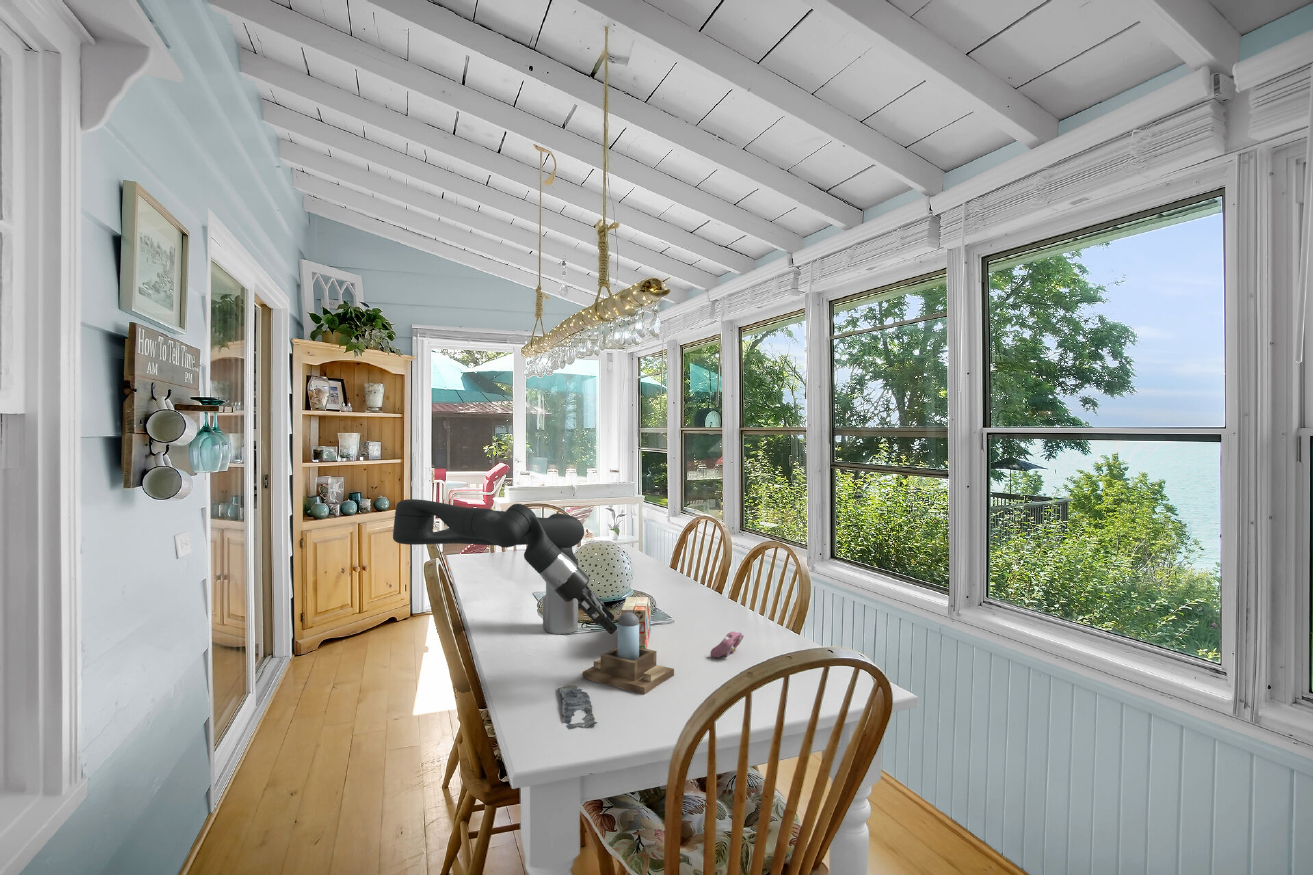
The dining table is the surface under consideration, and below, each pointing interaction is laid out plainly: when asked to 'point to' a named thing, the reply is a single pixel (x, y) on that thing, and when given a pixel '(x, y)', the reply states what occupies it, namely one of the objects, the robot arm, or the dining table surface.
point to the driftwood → (576, 706)
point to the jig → (629, 671)
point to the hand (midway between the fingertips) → (613, 625)
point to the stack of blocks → (640, 616)
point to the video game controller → (727, 645)
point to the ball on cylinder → (628, 636)
